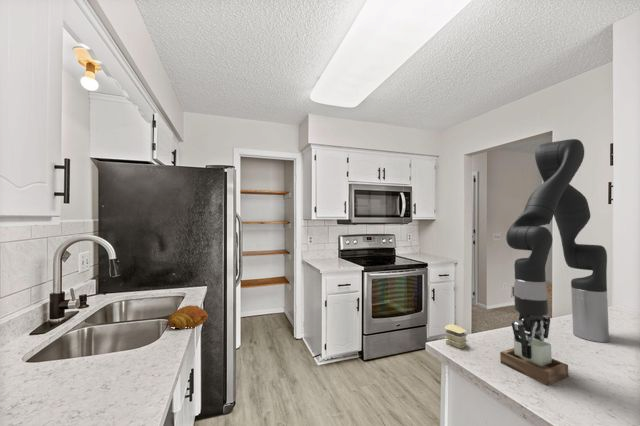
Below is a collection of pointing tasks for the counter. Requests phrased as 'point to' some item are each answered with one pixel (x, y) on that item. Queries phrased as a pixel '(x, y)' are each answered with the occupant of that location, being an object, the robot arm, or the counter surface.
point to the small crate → (536, 351)
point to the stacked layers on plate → (455, 336)
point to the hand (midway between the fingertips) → (532, 355)
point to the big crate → (535, 368)
